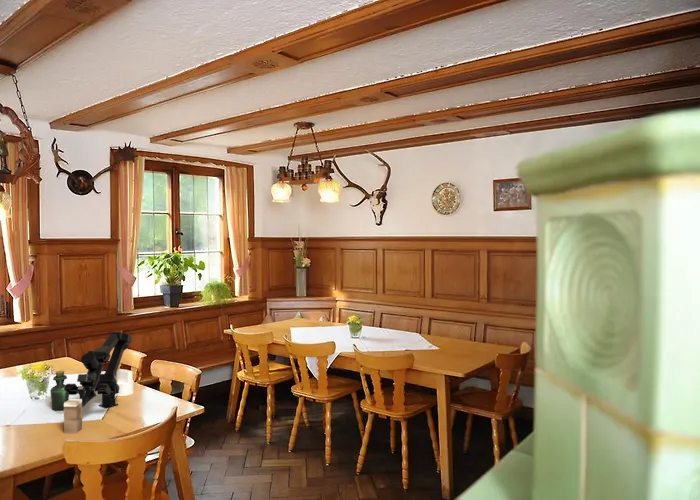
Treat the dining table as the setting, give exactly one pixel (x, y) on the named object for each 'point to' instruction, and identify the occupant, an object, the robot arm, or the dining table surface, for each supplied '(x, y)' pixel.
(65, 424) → the cream and brown block
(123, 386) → the white cutaway cylinder
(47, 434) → the dining table surface
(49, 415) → the dining table surface
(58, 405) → the potion bottle
